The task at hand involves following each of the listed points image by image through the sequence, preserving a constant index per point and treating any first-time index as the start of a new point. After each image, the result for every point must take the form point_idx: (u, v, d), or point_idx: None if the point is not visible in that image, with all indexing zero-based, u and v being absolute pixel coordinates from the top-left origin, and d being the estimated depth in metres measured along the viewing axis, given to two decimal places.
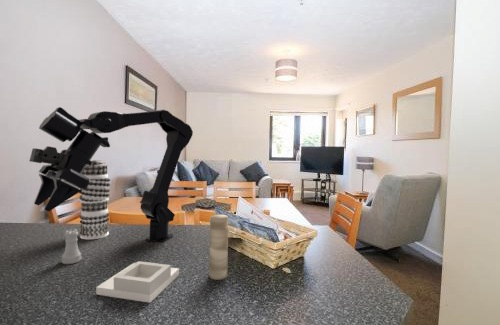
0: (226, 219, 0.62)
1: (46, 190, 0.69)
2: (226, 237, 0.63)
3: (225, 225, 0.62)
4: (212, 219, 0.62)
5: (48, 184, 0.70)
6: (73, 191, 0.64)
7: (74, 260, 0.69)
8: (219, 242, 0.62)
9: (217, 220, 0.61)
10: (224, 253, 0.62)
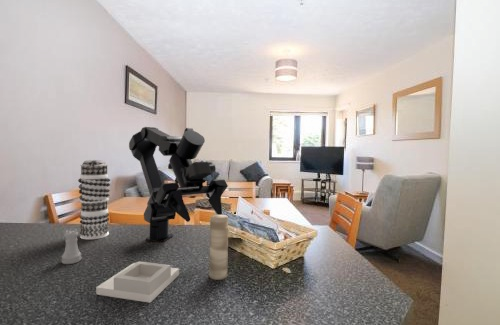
0: (226, 219, 0.62)
1: None
2: (226, 237, 0.63)
3: (225, 225, 0.62)
4: (212, 219, 0.62)
5: None
6: None
7: (74, 260, 0.69)
8: (219, 242, 0.62)
9: (217, 220, 0.61)
10: (224, 253, 0.62)
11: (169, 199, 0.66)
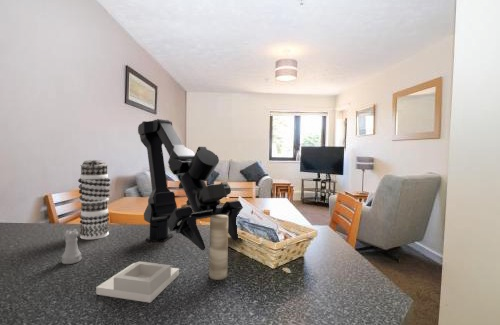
0: (226, 219, 0.62)
1: None
2: (226, 237, 0.63)
3: (225, 225, 0.62)
4: (212, 219, 0.62)
5: None
6: None
7: (74, 260, 0.69)
8: (219, 242, 0.62)
9: (217, 220, 0.61)
10: (224, 253, 0.62)
11: (182, 225, 0.61)
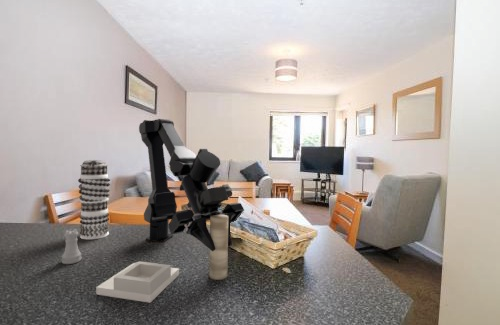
0: (226, 219, 0.62)
1: None
2: (226, 237, 0.63)
3: (225, 225, 0.62)
4: (212, 219, 0.62)
5: None
6: None
7: (74, 260, 0.69)
8: (219, 242, 0.62)
9: (217, 220, 0.61)
10: (224, 253, 0.62)
11: (192, 227, 0.62)
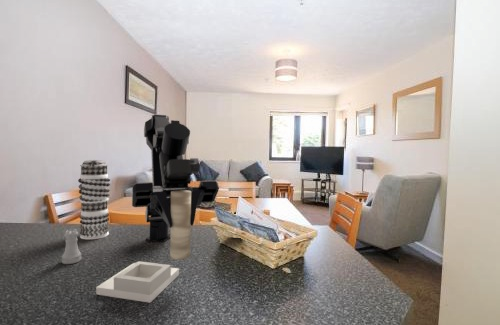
0: (185, 194, 0.57)
1: None
2: (186, 214, 0.57)
3: (183, 201, 0.56)
4: (171, 193, 0.57)
5: None
6: None
7: (74, 260, 0.69)
8: (177, 219, 0.56)
9: (175, 194, 0.56)
10: (183, 232, 0.57)
11: (153, 200, 0.59)
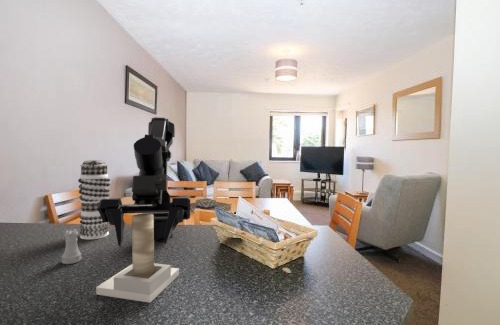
0: (144, 219, 0.55)
1: (122, 228, 0.57)
2: (145, 239, 0.55)
3: (142, 226, 0.55)
4: (132, 217, 0.56)
5: (122, 221, 0.57)
6: (176, 221, 0.62)
7: (74, 260, 0.69)
8: (136, 244, 0.55)
9: (133, 219, 0.55)
10: (142, 258, 0.55)
11: (109, 217, 0.57)
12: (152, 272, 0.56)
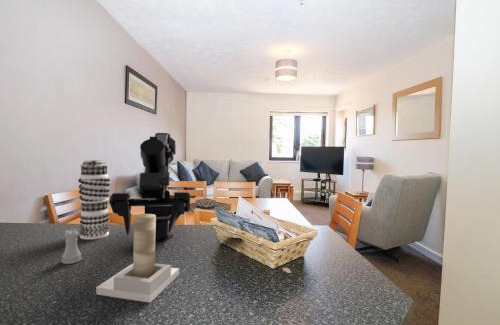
0: (146, 220, 0.54)
1: (129, 219, 0.65)
2: (147, 240, 0.55)
3: (144, 227, 0.54)
4: (134, 218, 0.56)
5: (129, 212, 0.66)
6: (178, 213, 0.70)
7: (74, 260, 0.69)
8: (137, 245, 0.54)
9: (136, 219, 0.54)
10: (143, 259, 0.55)
11: (118, 209, 0.66)
12: (152, 273, 0.56)
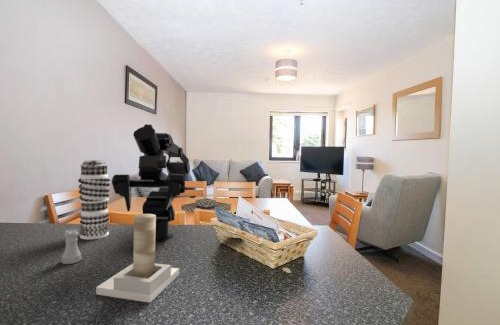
0: (146, 220, 0.54)
1: (129, 197, 0.72)
2: (147, 240, 0.55)
3: (144, 227, 0.54)
4: (134, 218, 0.56)
5: (129, 192, 0.72)
6: (174, 194, 0.77)
7: (74, 260, 0.69)
8: (137, 245, 0.54)
9: (136, 219, 0.55)
10: (143, 259, 0.55)
11: (119, 189, 0.72)
12: (152, 273, 0.56)
